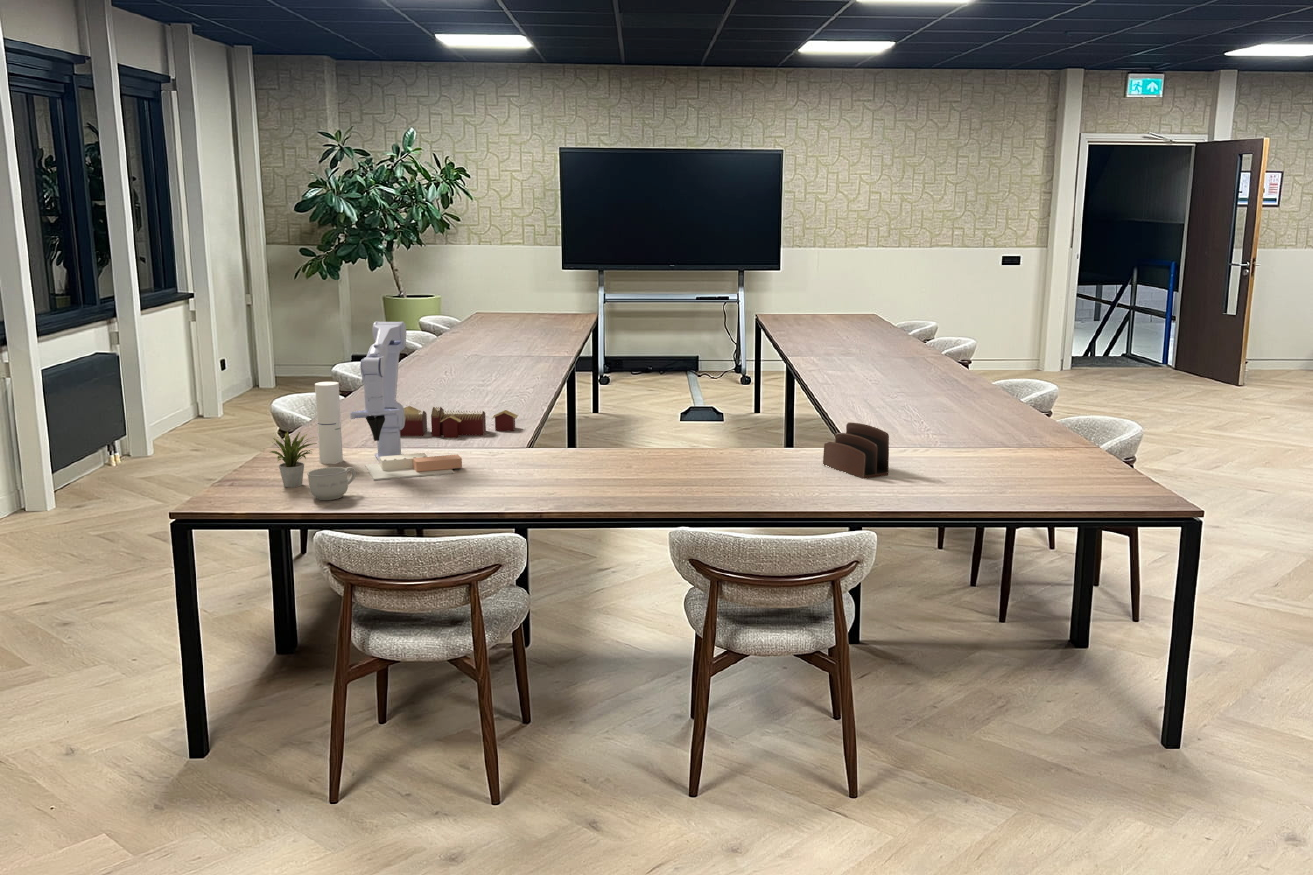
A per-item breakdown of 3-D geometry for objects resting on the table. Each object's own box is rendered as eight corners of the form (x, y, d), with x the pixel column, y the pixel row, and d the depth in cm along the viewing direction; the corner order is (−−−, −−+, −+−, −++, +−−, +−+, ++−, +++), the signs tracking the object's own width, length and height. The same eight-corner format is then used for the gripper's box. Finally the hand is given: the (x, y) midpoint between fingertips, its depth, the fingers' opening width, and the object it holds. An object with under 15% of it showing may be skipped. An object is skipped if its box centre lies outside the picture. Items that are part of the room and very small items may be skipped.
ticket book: (379, 466, 351) (379, 456, 351) (424, 462, 357) (424, 452, 356) (382, 470, 346) (382, 460, 345) (428, 466, 351) (428, 456, 351)
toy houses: (383, 438, 394) (382, 410, 392) (395, 426, 414) (394, 399, 412) (513, 438, 395) (512, 410, 392) (519, 426, 415) (518, 399, 412)
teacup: (316, 505, 310) (315, 476, 308) (303, 496, 318) (301, 468, 317) (365, 497, 318) (364, 469, 316) (351, 489, 327) (349, 462, 325)
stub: (413, 467, 349) (412, 458, 348) (458, 463, 354) (457, 454, 353) (416, 471, 344) (416, 462, 343) (462, 467, 349) (461, 458, 348)
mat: (364, 466, 353) (364, 464, 353) (441, 459, 362) (441, 458, 362) (373, 480, 336) (373, 478, 336) (454, 473, 345) (454, 471, 345)
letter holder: (846, 462, 362) (848, 419, 359) (888, 475, 346) (891, 430, 343) (822, 465, 357) (823, 422, 354) (863, 479, 341) (865, 433, 338)
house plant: (302, 494, 321) (298, 437, 317) (257, 491, 324) (253, 435, 320) (326, 481, 335) (323, 427, 331) (283, 479, 337) (279, 425, 334)
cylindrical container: (316, 460, 360) (311, 383, 355) (337, 457, 364) (333, 380, 359) (324, 464, 355) (319, 386, 349) (346, 461, 359) (342, 384, 353)
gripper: (351, 400, 337) (353, 444, 340) (400, 397, 343) (402, 441, 346) (348, 396, 344) (350, 440, 347) (396, 393, 349) (398, 436, 352)
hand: (376, 440), depth 346 cm, fingers closed
